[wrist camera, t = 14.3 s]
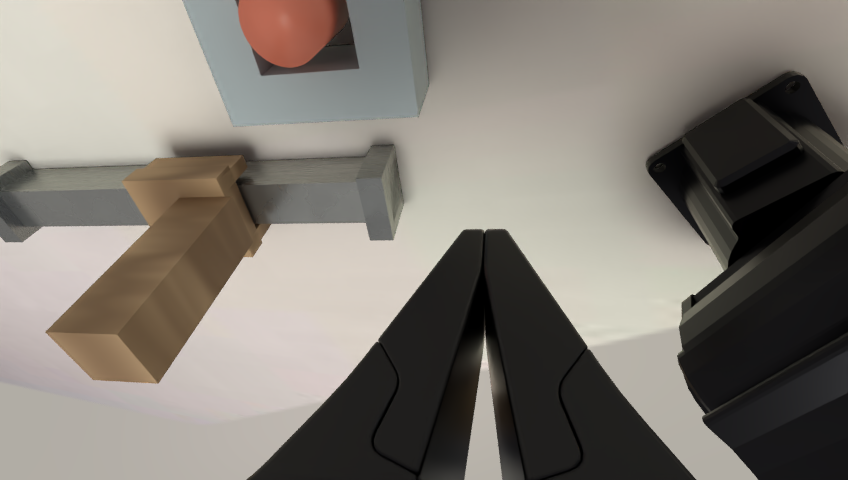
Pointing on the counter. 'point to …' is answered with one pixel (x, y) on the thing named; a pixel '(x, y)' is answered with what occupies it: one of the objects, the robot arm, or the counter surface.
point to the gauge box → (319, 67)
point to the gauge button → (291, 27)
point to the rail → (259, 184)
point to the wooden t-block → (163, 270)
